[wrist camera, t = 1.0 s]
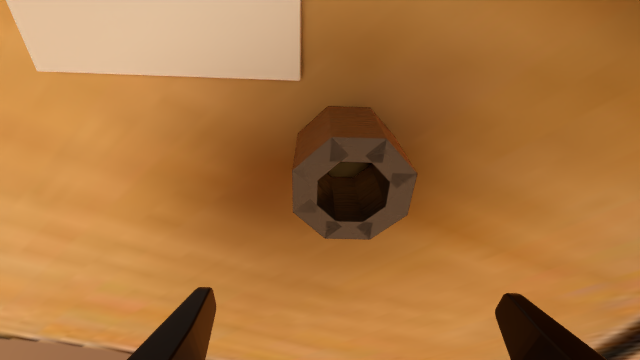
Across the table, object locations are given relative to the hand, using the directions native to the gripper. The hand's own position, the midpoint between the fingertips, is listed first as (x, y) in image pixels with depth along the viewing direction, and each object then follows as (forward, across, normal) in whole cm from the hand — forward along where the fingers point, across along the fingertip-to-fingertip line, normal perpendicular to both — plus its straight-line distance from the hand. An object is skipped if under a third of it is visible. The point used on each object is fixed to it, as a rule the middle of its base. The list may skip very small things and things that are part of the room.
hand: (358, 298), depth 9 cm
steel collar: (+12, -1, +1) cm, 12 cm away
